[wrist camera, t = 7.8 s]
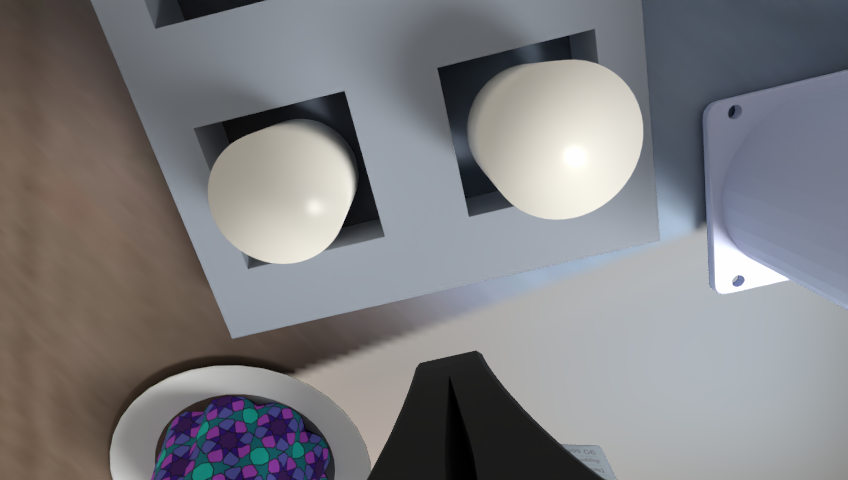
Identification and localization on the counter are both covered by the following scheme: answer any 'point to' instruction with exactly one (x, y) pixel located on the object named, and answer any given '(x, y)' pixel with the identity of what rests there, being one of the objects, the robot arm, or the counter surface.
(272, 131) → the button
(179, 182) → the board
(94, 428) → the counter surface
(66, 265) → the counter surface
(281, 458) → the pudding
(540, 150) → the button
